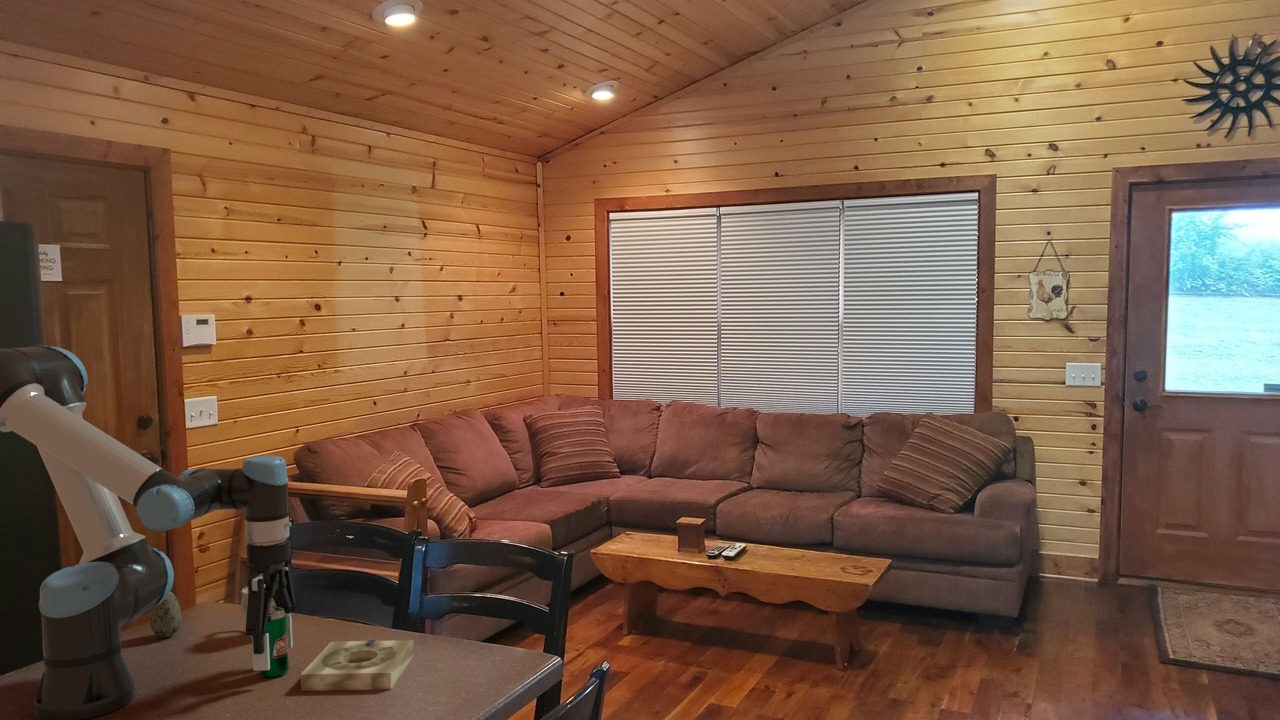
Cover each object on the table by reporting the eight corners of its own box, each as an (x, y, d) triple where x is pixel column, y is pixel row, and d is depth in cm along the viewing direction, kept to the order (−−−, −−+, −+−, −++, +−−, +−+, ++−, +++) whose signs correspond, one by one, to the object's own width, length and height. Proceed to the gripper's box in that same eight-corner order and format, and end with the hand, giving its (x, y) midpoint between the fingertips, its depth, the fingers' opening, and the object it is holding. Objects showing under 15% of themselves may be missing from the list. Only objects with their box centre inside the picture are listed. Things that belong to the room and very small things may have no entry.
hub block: (301, 690, 165) (300, 673, 165) (331, 656, 181) (331, 640, 181) (391, 689, 165) (390, 671, 165) (413, 655, 181) (413, 639, 181)
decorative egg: (168, 630, 198) (165, 584, 198) (189, 633, 196) (186, 586, 195) (144, 639, 193) (141, 592, 192) (165, 643, 190) (162, 595, 190)
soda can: (278, 680, 170) (275, 615, 169) (254, 678, 171) (251, 614, 170) (294, 669, 175) (291, 606, 174) (270, 667, 176) (267, 605, 175)
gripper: (263, 556, 160) (269, 682, 162) (310, 525, 183) (315, 636, 184) (220, 557, 160) (226, 683, 162) (272, 526, 183) (277, 636, 184)
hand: (273, 658), depth 173 cm, fingers open, 10 cm apart
